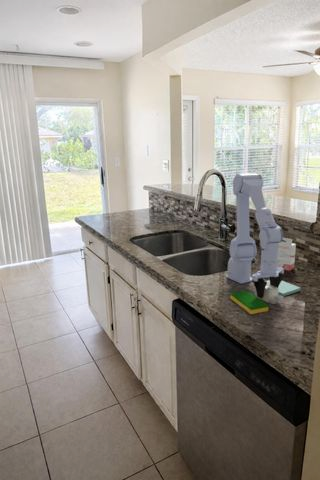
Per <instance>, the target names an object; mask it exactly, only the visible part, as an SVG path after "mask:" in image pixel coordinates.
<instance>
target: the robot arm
mask: <svg viewBox="0 0 320 480" xmlns="http://www.w3.org/2000/svg"><path fill="white" fill-rule="evenodd" d="M263 178H264V177H263V176H262V174H261V173H259V172H258V173H257V172H256V173H241V174H240V173H237V174H235V176H234V177H233V181H232V186H233V187H232V191H233V192H232V193H233V195H234V196H235V202H236V203H235V204H236V205H235V206H236V207H235V208H236V209H235V210H236V236H235V237H234V238H233V239H231V241H230V245H229V256H230V257H229V259H228V262H227V275H226V276H225V277H226V278H228V279H229V280H232V281H234V282H237V283H238V284H246V283H249V282H253V283H252V284H253V285H254V288H255V293H256V292H257V297H259V298H263V296H264V290H265V286H266V284H267V282H265V281H266V280H264V279H266V278H269V279H268V280H270V285H272V286H275V287H277V288H278V287H279V284H280V283H281V281H284V279H285V277H284V275H283V274H284V272H285V270H284V268H281V267H278V268H277V262H278V250H279V243H280V242H281V241H282V242H283V241H284V240H283V238H284V232H283V228H282V227H281V226H280V225H279V224H278V223H276V221H275V218H274V215H273V213H272V210H271V209H270V208H269V207H267V205H266V202H265V197H264V194H263V186H264V179H263ZM250 199H251V201H252V204H253V205H254V208H255V210H256V212H255V214H254V215H255V216H254V217H255V220H256V222H257V225H258V227H259V233H258V236H259V237H258V238H259V242H260V243H259V245H260V248H261V252H260V253H261V254H260V268H259V269H260V270H258V271H257V272H256V273H253V274H252V261H253V260H254V258H255V257H256V256H257V253H258V251H257V245H256V240H255V239H254V238H252V237H251V235H250V233H251V231H250V228H251V227H250ZM259 298H258V299H259Z"/></svg>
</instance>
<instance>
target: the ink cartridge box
mask: <svg viewBox="0 0 320 480" xmlns="http://www.w3.org/2000/svg"><path fill="white" fill-rule="evenodd" d="M296 248H297V244H296V243H293V239H292V238H288V237H283V240H282V241H281V242H280V243H279V250H278V262H277V268H278V267H281V268H284V271H289V272H290V271H292V270H293V269H295V261H296V260H295V259H296Z"/></svg>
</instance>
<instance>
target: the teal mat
mask: <svg viewBox="0 0 320 480" xmlns="http://www.w3.org/2000/svg"><path fill="white" fill-rule="evenodd" d="M264 281H265V282H267V284H270V279H268V280H264ZM278 289H279V291H278V295H281V296H283V297H285V296H288V295H291V294H294V293H295V294H296V293H298V292H300V291H301V287H300V286H298V285H294V284H292V283H289V282H286V281H285V280H282V281H281V283H280V284H279V287H278Z"/></svg>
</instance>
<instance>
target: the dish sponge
mask: <svg viewBox="0 0 320 480" xmlns="http://www.w3.org/2000/svg"><path fill="white" fill-rule="evenodd" d="M229 296H230V297H229V298H230V300H231V301H233V302H235V303H236V304H237V305H238V306H240V307H241V308H242V309H244V311H246V312H247V313H249V314H250V315H255V314H260V313H264V312H269V306H270V305H269V304H267V302H265V301H263V300H261V299H259V298H257V297H256V295H254V294H252V293H251V292H250V291H248V290H241V291H236V292H235V291H234V292H231V293H230V295H229Z"/></svg>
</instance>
